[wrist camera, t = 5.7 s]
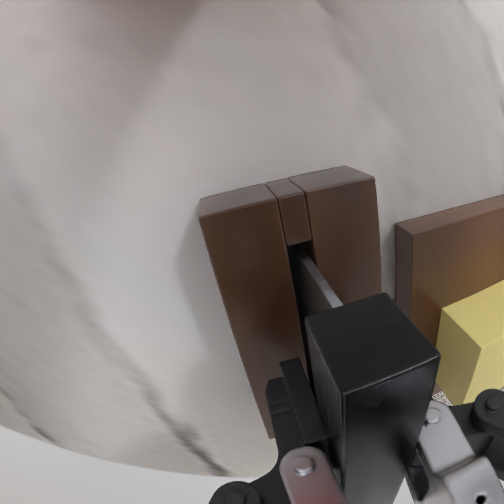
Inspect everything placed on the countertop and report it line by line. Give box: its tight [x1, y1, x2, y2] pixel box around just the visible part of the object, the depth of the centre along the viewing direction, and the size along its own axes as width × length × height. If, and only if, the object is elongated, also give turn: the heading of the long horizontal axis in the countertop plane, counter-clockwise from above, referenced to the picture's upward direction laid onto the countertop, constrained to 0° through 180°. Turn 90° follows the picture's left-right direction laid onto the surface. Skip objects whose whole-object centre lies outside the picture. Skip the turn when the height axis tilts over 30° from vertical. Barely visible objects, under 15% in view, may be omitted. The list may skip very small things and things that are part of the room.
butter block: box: [436, 280, 504, 406], centre depth 14 cm, size 7×5×4 cm
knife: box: [286, 243, 441, 504], centre depth 11 cm, size 2×9×9 cm, turn 12°
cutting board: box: [395, 194, 504, 395], centre depth 16 cm, size 16×12×2 cm
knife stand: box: [199, 166, 381, 439], centre depth 14 cm, size 6×12×2 cm, turn 12°
